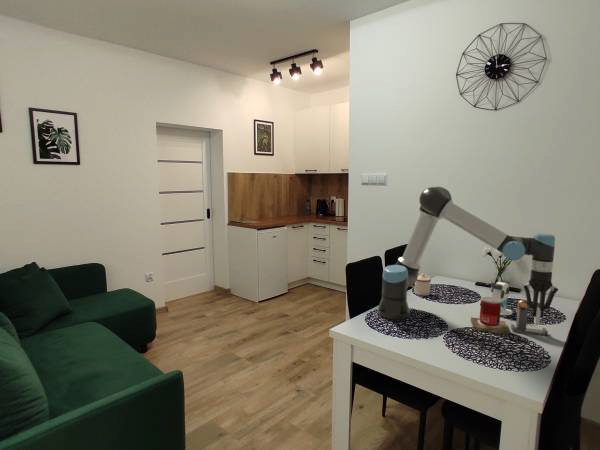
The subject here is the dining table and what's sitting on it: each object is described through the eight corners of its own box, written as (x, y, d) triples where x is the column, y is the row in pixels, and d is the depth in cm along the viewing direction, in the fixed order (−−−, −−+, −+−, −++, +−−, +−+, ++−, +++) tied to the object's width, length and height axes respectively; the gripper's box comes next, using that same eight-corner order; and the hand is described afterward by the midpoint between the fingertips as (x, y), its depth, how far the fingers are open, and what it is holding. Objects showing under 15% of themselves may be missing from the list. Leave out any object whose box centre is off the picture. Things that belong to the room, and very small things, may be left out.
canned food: (501, 327, 161) (503, 302, 160) (482, 325, 163) (483, 301, 161) (496, 320, 168) (498, 297, 167) (477, 319, 170) (479, 296, 169)
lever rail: (512, 331, 161) (513, 327, 161) (510, 328, 164) (511, 324, 164) (547, 336, 156) (547, 331, 156) (544, 332, 160) (545, 328, 160)
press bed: (473, 329, 162) (473, 325, 162) (470, 320, 174) (471, 316, 173) (509, 334, 158) (509, 330, 157) (504, 324, 169) (504, 320, 169)
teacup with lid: (432, 293, 215) (433, 273, 214) (426, 296, 209) (427, 276, 207) (413, 289, 223) (414, 270, 222) (406, 292, 217) (407, 273, 215)
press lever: (516, 329, 160) (519, 300, 159) (514, 325, 164) (517, 298, 162) (527, 330, 159) (529, 302, 157) (525, 327, 163) (527, 299, 161)
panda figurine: (507, 317, 178) (509, 287, 176) (483, 311, 186) (485, 282, 185) (515, 311, 186) (518, 282, 184) (492, 305, 195) (494, 278, 193)
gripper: (526, 270, 155) (521, 324, 158) (562, 273, 151) (557, 329, 153) (522, 266, 162) (517, 318, 165) (556, 269, 158) (551, 322, 161)
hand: (536, 323), depth 159 cm, fingers closed
